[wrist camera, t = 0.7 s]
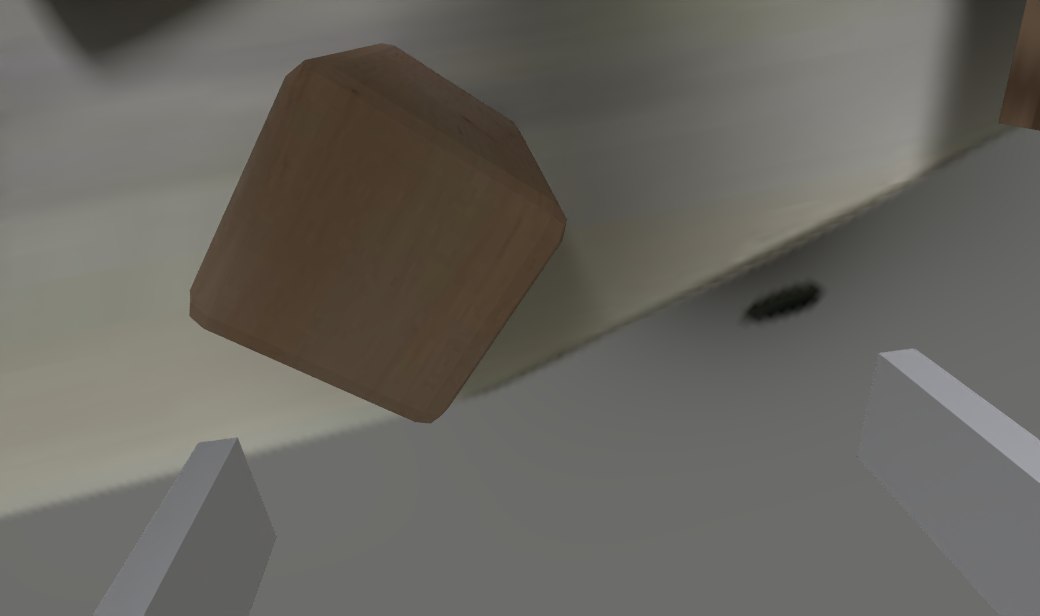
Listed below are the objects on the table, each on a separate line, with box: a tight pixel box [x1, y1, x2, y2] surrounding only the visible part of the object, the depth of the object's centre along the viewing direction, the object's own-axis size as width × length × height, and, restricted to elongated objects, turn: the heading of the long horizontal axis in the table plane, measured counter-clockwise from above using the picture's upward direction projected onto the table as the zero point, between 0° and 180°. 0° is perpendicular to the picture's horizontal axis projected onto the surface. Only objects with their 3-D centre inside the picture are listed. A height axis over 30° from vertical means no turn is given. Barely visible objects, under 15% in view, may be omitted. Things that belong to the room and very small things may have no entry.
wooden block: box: [190, 44, 567, 423], centre depth 28 cm, size 10×10×20 cm
